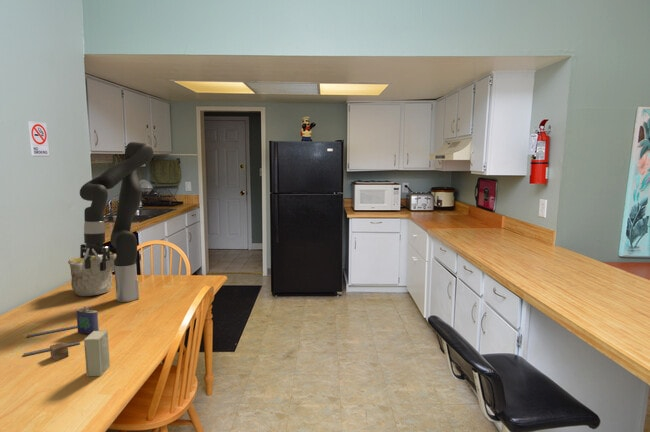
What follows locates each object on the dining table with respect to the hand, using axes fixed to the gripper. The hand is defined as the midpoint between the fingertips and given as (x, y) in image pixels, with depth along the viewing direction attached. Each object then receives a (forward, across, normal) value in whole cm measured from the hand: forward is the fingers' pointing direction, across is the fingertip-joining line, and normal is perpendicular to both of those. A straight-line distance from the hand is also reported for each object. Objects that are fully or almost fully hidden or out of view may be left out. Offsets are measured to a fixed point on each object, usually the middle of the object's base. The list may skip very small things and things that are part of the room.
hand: (95, 269), depth 163 cm
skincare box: (+21, -41, +33) cm, 57 cm away
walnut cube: (+21, -21, +31) cm, 43 cm away
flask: (+21, -13, +14) cm, 28 cm away
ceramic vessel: (+19, +29, -22) cm, 41 cm away
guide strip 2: (+21, -13, +28) cm, 37 cm away
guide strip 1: (+21, 0, +18) cm, 28 cm away
